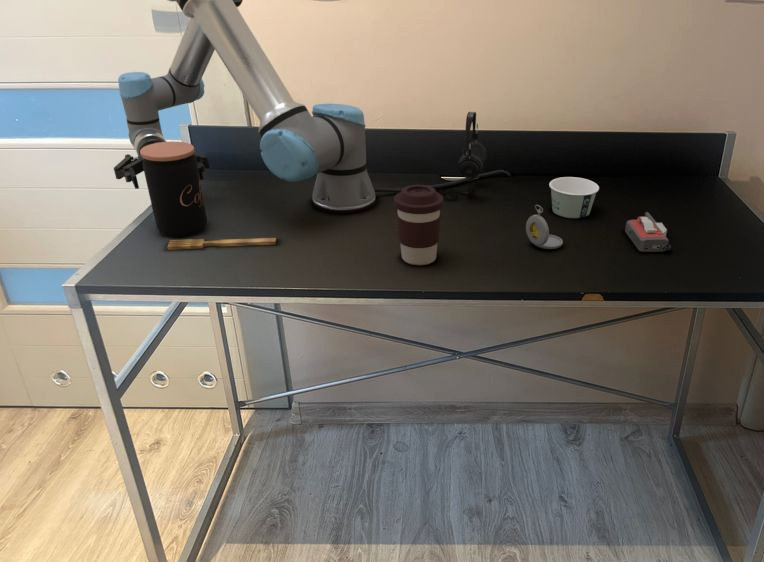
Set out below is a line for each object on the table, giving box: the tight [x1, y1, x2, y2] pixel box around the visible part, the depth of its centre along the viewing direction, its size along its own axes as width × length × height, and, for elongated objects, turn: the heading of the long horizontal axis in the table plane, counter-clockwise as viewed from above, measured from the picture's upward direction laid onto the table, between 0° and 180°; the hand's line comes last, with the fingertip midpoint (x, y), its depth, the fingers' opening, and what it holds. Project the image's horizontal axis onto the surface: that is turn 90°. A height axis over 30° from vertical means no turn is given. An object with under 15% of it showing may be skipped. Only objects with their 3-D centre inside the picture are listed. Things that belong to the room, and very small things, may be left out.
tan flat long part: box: [166, 237, 277, 251], centre depth 150 cm, size 22×3×1 cm, turn 99°
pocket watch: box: [525, 204, 564, 250], centre depth 152 cm, size 8×8×10 cm
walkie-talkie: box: [624, 211, 672, 253], centre depth 160 cm, size 9×4×20 cm
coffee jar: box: [140, 140, 208, 239], centre depth 151 cm, size 11×11×18 cm
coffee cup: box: [393, 184, 444, 266], centre depth 143 cm, size 10×10×15 cm
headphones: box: [439, 111, 488, 201], centre depth 175 cm, size 15×11×20 cm
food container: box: [548, 176, 600, 219], centre depth 170 cm, size 12×12×6 cm
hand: (169, 178), depth 154 cm, fingers open, 13 cm apart
